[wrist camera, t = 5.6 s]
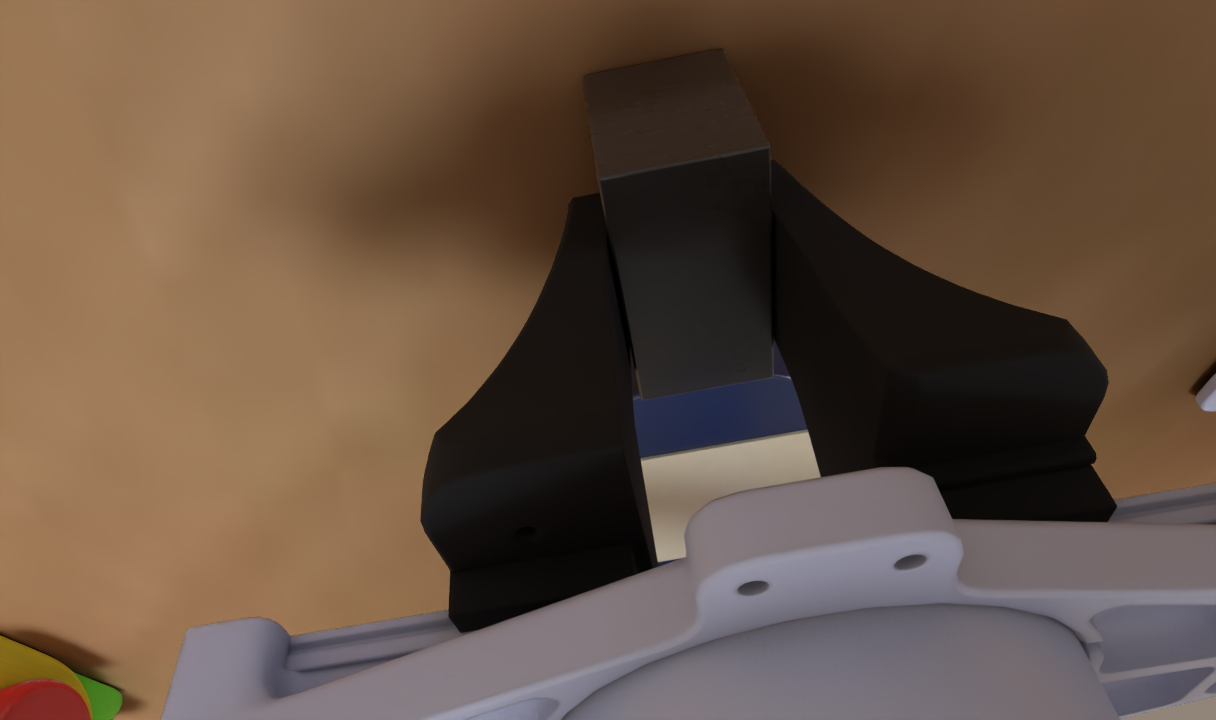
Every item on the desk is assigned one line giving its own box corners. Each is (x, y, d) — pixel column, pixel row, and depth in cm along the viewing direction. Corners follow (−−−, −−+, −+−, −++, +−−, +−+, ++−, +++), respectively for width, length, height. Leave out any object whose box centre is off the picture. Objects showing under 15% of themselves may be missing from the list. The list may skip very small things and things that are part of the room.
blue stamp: (436, 103, 14) (419, 212, 11) (874, 16, 14) (958, 108, 11) (585, 540, 24) (594, 649, 22) (834, 498, 24) (873, 604, 21)
